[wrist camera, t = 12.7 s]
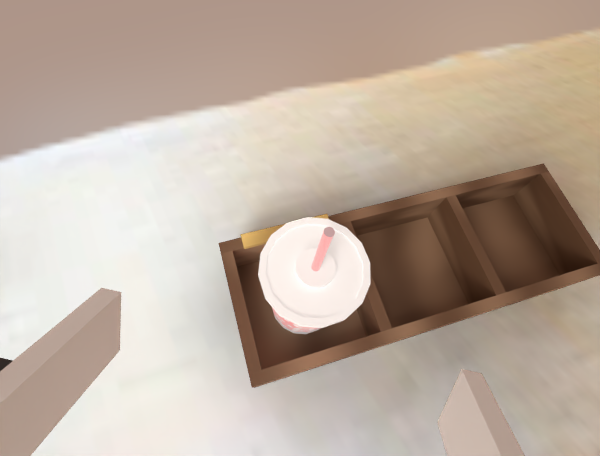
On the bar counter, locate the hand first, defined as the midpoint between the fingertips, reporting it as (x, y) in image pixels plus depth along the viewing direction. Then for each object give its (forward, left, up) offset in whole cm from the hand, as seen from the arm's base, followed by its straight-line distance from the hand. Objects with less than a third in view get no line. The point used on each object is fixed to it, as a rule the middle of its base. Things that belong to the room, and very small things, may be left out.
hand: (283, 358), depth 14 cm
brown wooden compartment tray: (-12, -4, -14) cm, 19 cm away
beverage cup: (-3, -4, -13) cm, 14 cm away
